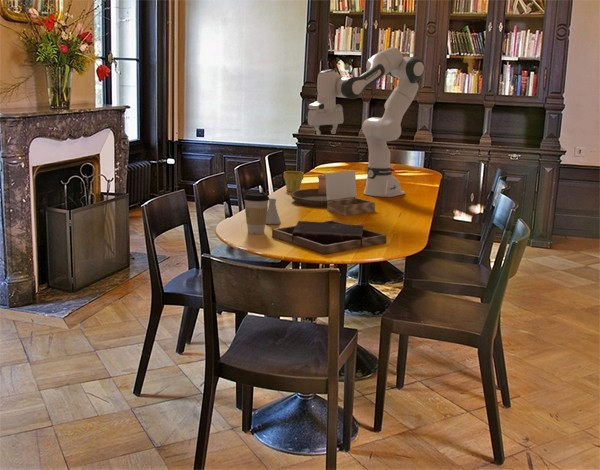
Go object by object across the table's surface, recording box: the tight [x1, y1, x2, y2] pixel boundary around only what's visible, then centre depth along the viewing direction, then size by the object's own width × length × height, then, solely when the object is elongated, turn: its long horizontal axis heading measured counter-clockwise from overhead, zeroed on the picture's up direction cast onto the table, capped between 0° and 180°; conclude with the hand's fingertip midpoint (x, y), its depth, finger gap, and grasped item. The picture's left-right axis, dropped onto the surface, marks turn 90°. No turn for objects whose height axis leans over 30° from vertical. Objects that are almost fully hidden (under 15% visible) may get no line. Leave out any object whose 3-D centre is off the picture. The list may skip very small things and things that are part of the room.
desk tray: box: [271, 219, 388, 256], centre depth 247 cm, size 30×30×3 cm
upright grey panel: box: [324, 170, 358, 200], centre depth 302 cm, size 18×12×1 cm
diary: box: [292, 220, 364, 247], centre depth 247 cm, size 19×25×5 cm
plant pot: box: [283, 170, 304, 193], centre depth 347 cm, size 10×10×10 cm
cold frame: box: [326, 197, 376, 216], centre depth 299 cm, size 18×15×12 cm
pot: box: [317, 173, 327, 195], centre depth 318 cm, size 6×6×9 cm
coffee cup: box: [242, 191, 270, 235], centre depth 254 cm, size 10×10×15 cm
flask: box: [265, 198, 282, 226], centre depth 271 cm, size 7×7×10 cm
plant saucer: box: [290, 188, 356, 208], centre depth 320 cm, size 31×31×5 cm
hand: (325, 134), depth 320 cm, fingers open, 8 cm apart
